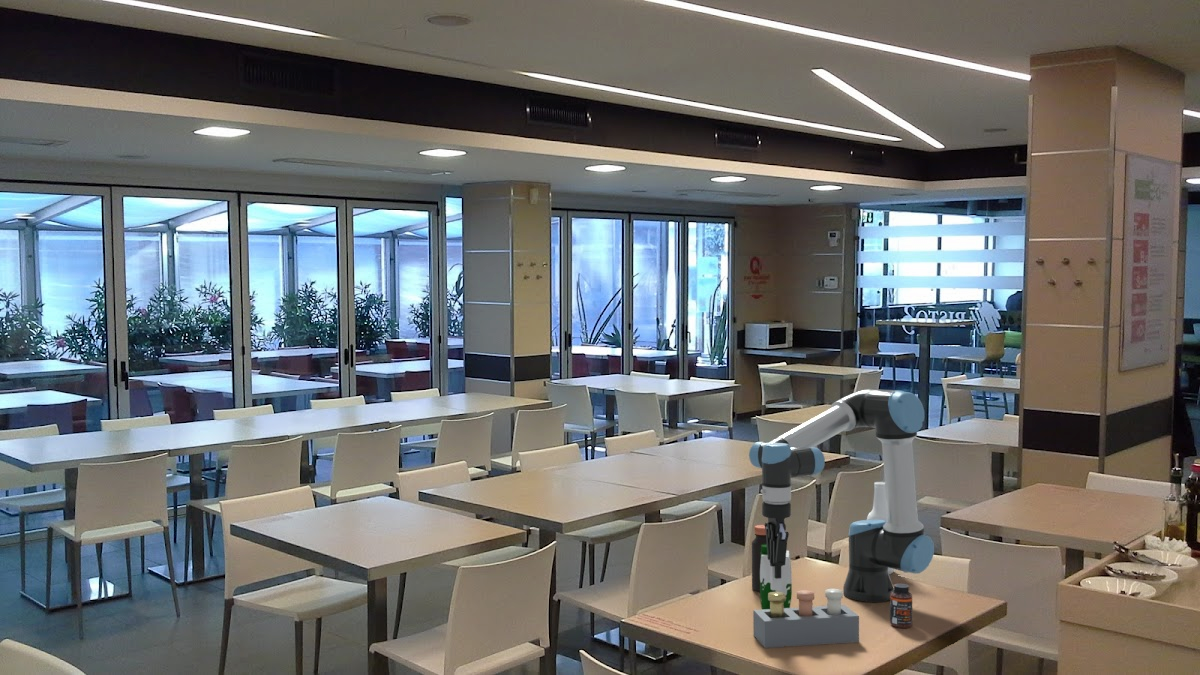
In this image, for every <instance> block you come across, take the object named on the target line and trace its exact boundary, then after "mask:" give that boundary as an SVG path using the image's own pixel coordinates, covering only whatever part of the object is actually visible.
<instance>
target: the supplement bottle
mask: <svg viewBox="0 0 1200 675" xmlns="http://www.w3.org/2000/svg"><path fill="white" fill-rule="evenodd" d="M893 588H894V591H893V592H892V593H891V595H890V600H889V623H890V625H891V626H892V627H895V628H900V629H907V628H908V629H909V628H911V627H912V625H913V595H912V593H911V592H910V586H909V585H908V584H906V583H895V584H894V585H893Z"/></svg>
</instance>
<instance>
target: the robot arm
mask: <svg viewBox="0 0 1200 675" xmlns="http://www.w3.org/2000/svg"><path fill="white" fill-rule="evenodd" d="M924 421H925V409H924V405H923V403H922V401H921V399H920V398H919V397H918V396H917V395H916V394H915V393H912V392H909V391H903V390H900V389H899V390H898V389H897V390H896V389H879V388H864V389H862V390H857V391H855V392H853V393H850V394H848V395H846V396H844V397H842V398H839V399H838V400H835V401H834V402H833V403H831V405H830V407H829V408H828V409H827V410H825V411H823V412H821V413H819V414H818V415H816V416H814V417H812V418H810V419H809V420H806V421H805V422H803V423H802V424H799V425H798V426H795V427H793V428H792V429H790V430H789V431H787V432H784V433H783V434H781V435H779V436H777V437H776V438H773V439H772V440H770V441H768V442H767V441H757V442H754V443H753V444H752V445H751V446H750V449H749V453H748V458H749V461H750V463H751V465H752V466H754V467H755V468H759V469H761V474H762V475H761V479H762V480H761V481H762V482H761V483H762V489H760V493H761V494H762V496H761V497H762V501H763V502H762V504H761V514H762V516H763V517H764V518H767V522H764V525H765V530H766V541H767V555H768V560H770V566H771V590H782V566H783V565H785V561H786V551H788V550H787V549H788V539H789V535H790V533H789V532H788V531H786V529H787V528H786V527H787V525H786V524H785V519H787V518H790V517H791V515H792V514H791V512H792V509H791V507H792V506H791V500H792V485H791V484H792V478H799V477H806V476H811V477H812V476H813V475H814V476H815V475H817V474H818V475H819V474H820V473H821V472H822V471H823V470H824V468H825V459H826V458H825V456H824V453H823V452H822V450H821V449H820V448H818V447H817V446H819V445H820V444H822V443H824V442H826V441H827V440H829V439H831V438H833V437H834V436H836V435H838V434H840V433H842V432H849V431H852V430H855V429H856V428H871V429H875V438H876V439H877V440H879V441H880V442H881V448H882V460H883V461H882V462H883V465H882V466H883V476H884V478H883V479H884V482H885V491H886V504H887V517H888V521H886V520H867V519H863V520H857V521H853V522H852V523H850V525H849V528H848V529H849V530H848V572H847V575H846V577H845V581H844V583H843V589H842V591H843V595H844V597H846V598H847V599H848V598H849V599H852V600H854V601H859V602H865V603H866V602H868V603H869V602H871V603H879V602H881V603H882V602H888V601H890V595H891V593H892V592H893V591H894V585H893V582H892V578H891V576H890V574H889V573H888V567H889V568H893V569H894V570H895V571H896V570H897V571H900V572H903V573H908V574H909V573H911V574H920V573H922V572H924V571H925V570H926V569H927V568H928V567H929V566H930V563H931V562H932V560H933V558H934V552H935V545H934V544H935V543H934V540H932V539H931V537H930V536H928V535H927V534H925V526H924V524H923V523H922V522H921V521H920V520H919V519H918V518H919V516H918V502H917V492H916V478H915V477H916V476H915V464H914V462H915V461H914V450H913V440H914V439H916V437H917V436H918V431H920V430H921V428H923V425H924V424H923V423H924Z"/></svg>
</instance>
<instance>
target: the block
mask: <svg viewBox="0 0 1200 675" xmlns="http://www.w3.org/2000/svg"><path fill="white" fill-rule="evenodd" d="M752 615H753V622H752V623H753V625H752V626H753V627H752V628H753V631H752V632H753V634H752V635H753V637H754V638H755V637H756V638H757V639H756V638H755V639H756V640H757V641H758V642H759V643H760V644H761V645H762V647H763V648H765V649H769V647H770V648H782V647H783V648H785V647H784V646H786V647H800V646H801V647H803V646H814V645H815V646H816V645H817V646H818V645H832V644H833V645H834V644H846V643H847V644H848V643H849V644H850V643H859V642H860V615H858V614H857V613H856V612H855V611H853V610H852V609H851V608H849V607H848V606H847V605H845V604H841V614H836V615H827V605H822V606H821V605H819V606H818V605H817V606H812V616H802V617H799V606H798V607H790V608H784V618H770V609H763V610H762V609H753V614H752Z"/></svg>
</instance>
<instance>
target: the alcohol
mask: <svg viewBox="0 0 1200 675" xmlns="http://www.w3.org/2000/svg"><path fill="white" fill-rule="evenodd" d="M873 484H874V486H873V487H874V489H873V490H874V492H873V504H872V510H871V511H870V512H869V513H868V515H867V516H866V520H886V521H888V517H887V504H886V491H885V481H874V483H873ZM894 570H895V569H893V568H889V567H888V573H889V575H891V574H893V573H894Z"/></svg>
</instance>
